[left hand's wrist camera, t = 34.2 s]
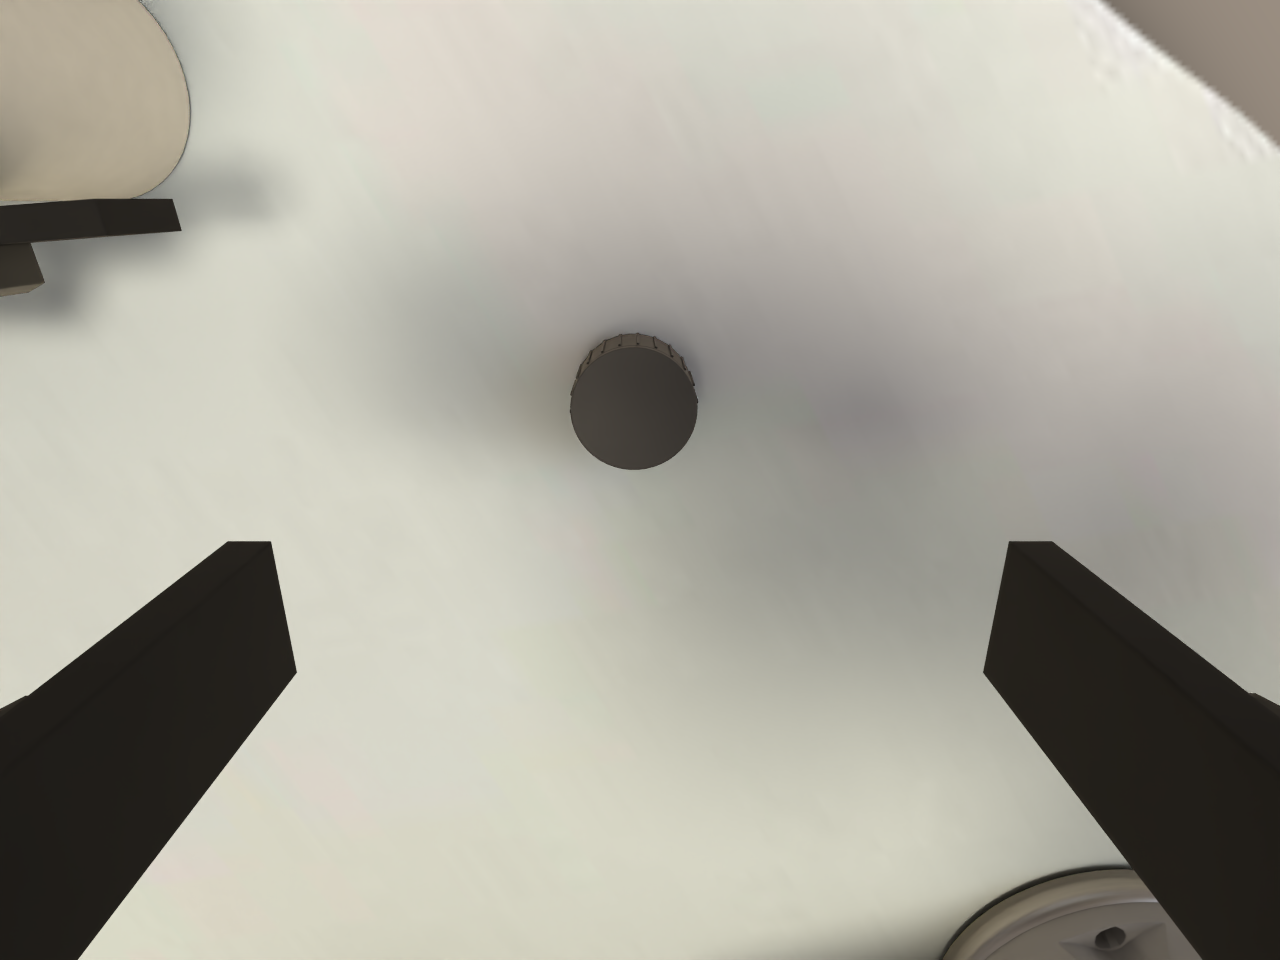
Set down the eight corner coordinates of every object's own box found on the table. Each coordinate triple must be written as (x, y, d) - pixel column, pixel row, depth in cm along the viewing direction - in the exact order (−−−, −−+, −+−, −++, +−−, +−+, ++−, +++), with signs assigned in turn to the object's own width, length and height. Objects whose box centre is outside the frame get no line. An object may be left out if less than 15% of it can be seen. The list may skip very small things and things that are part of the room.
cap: (698, 335, 24) (704, 349, 22) (687, 451, 26) (692, 475, 24) (576, 328, 24) (571, 341, 22) (573, 444, 26) (567, 468, 23)
